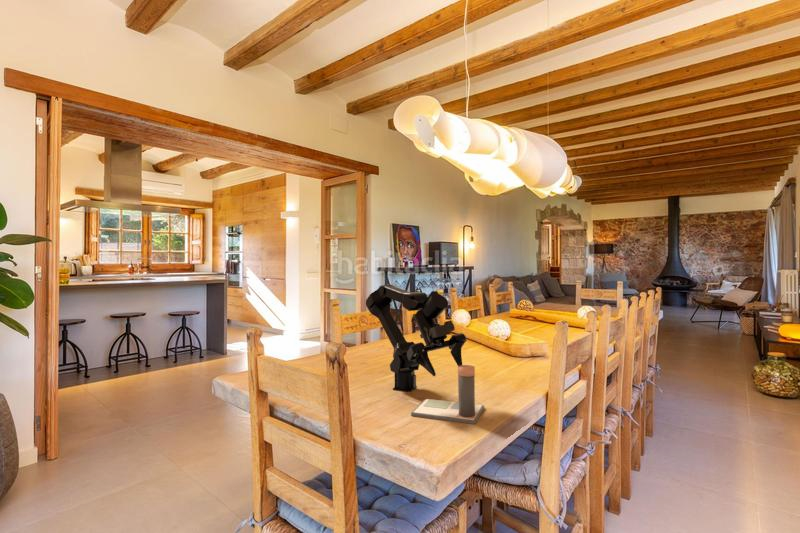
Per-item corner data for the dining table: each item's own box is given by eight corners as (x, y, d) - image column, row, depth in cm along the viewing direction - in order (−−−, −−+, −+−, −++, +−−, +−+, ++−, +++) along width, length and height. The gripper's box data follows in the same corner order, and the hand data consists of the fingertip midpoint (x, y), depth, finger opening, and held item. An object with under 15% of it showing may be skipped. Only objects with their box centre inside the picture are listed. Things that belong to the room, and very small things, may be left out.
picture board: (411, 415, 116) (411, 412, 116) (425, 401, 128) (425, 397, 128) (475, 424, 109) (475, 420, 109) (484, 407, 121) (484, 404, 121)
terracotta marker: (459, 417, 111) (458, 369, 111) (457, 411, 116) (456, 365, 116) (476, 417, 111) (475, 369, 111) (473, 411, 116) (473, 364, 116)
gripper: (408, 318, 120) (428, 367, 112) (462, 307, 128) (485, 352, 120) (398, 337, 129) (417, 383, 120) (450, 326, 136) (470, 369, 128)
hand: (448, 371), depth 122 cm, fingers open, 9 cm apart
